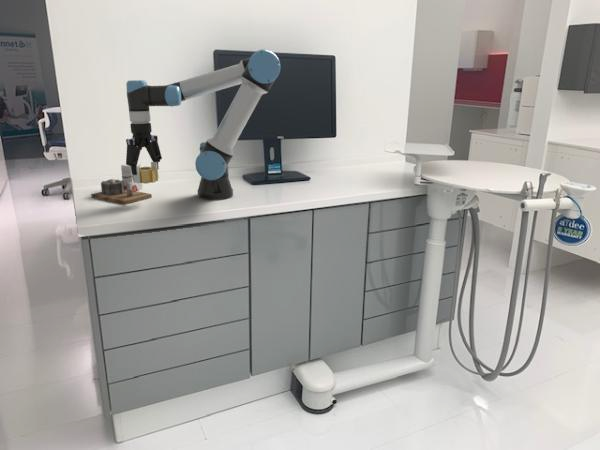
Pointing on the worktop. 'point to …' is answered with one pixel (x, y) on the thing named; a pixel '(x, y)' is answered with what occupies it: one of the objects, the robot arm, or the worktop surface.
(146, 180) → the brass gear
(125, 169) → the ink box
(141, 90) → the robot arm
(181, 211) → the worktop surface
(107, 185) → the gear board
